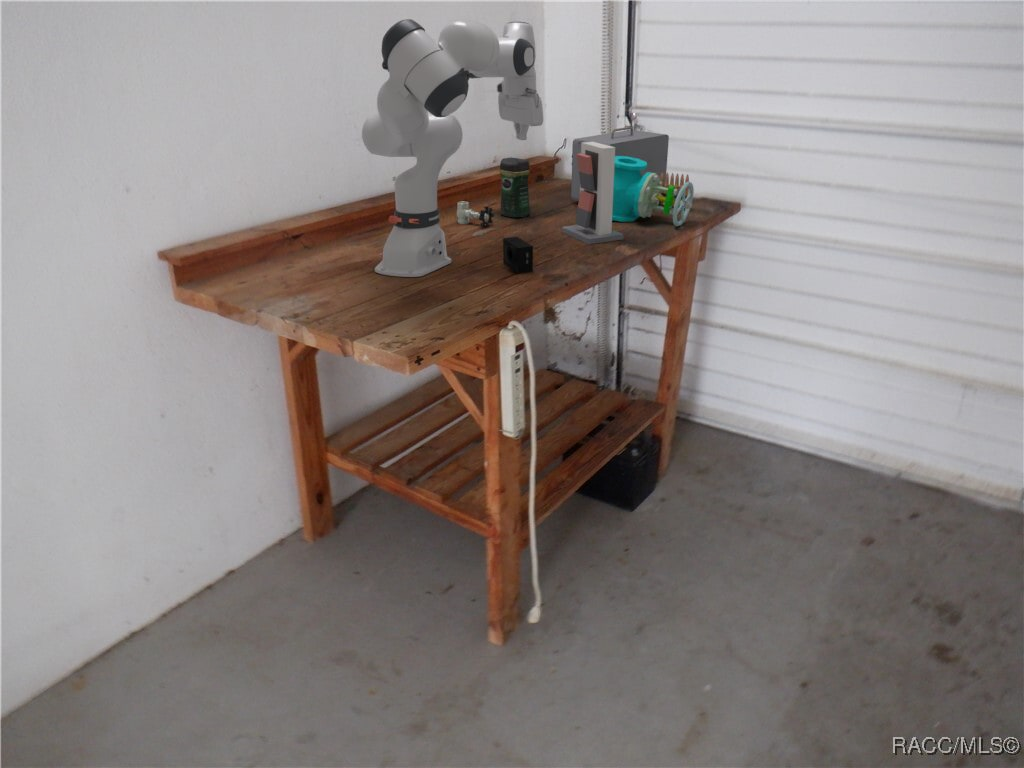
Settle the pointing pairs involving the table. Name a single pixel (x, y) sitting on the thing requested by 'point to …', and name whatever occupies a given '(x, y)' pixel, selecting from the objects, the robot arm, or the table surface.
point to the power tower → (598, 197)
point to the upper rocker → (585, 172)
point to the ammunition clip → (673, 185)
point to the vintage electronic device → (626, 151)
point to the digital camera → (518, 254)
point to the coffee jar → (514, 187)
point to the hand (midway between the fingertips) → (521, 139)
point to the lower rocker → (584, 209)
